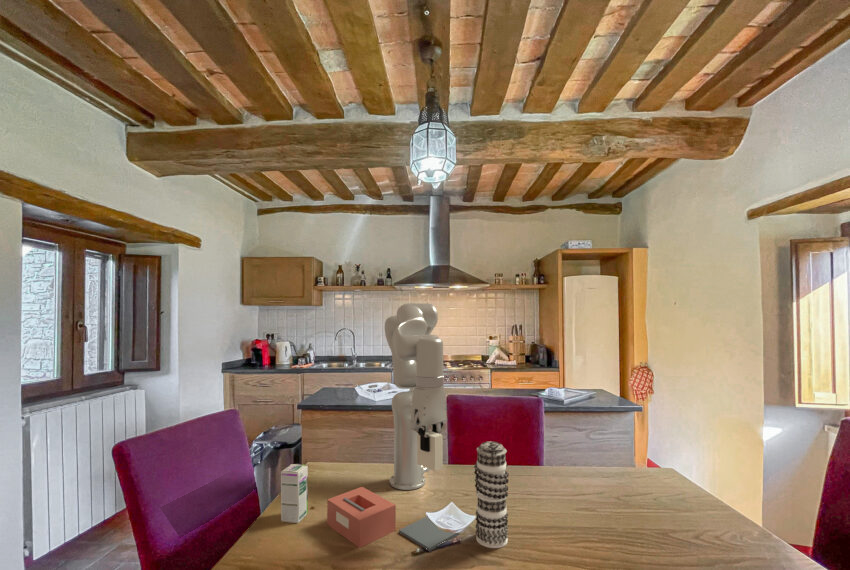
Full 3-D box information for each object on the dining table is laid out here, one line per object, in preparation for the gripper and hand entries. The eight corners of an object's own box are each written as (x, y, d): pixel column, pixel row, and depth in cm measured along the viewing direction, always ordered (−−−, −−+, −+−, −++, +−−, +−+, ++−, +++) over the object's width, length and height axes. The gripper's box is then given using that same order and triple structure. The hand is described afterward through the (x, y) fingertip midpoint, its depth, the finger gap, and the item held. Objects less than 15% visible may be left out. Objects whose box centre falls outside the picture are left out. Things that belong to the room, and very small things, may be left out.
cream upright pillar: (424, 461, 119) (425, 429, 120) (442, 468, 114) (442, 434, 115) (417, 464, 117) (417, 431, 118) (434, 471, 112) (435, 437, 112)
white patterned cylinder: (473, 529, 117) (472, 438, 118) (506, 530, 117) (505, 439, 118) (475, 548, 108) (475, 450, 109) (512, 549, 107) (511, 450, 109)
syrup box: (298, 523, 120) (299, 472, 120) (279, 521, 121) (280, 470, 122) (308, 513, 125) (308, 464, 126) (290, 511, 127) (290, 463, 127)
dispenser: (361, 510, 128) (362, 485, 128) (395, 530, 116) (395, 503, 117) (326, 524, 119) (326, 498, 120) (359, 548, 108) (359, 519, 108)
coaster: (430, 517, 123) (430, 514, 123) (460, 533, 115) (460, 530, 115) (399, 532, 115) (399, 529, 115) (429, 551, 106) (429, 548, 107)
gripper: (440, 376, 125) (440, 439, 124) (398, 384, 114) (398, 452, 113) (459, 380, 120) (459, 445, 119) (417, 388, 108) (417, 460, 108)
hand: (429, 448), depth 116 cm, fingers closed on cream upright pillar, 3 cm apart
